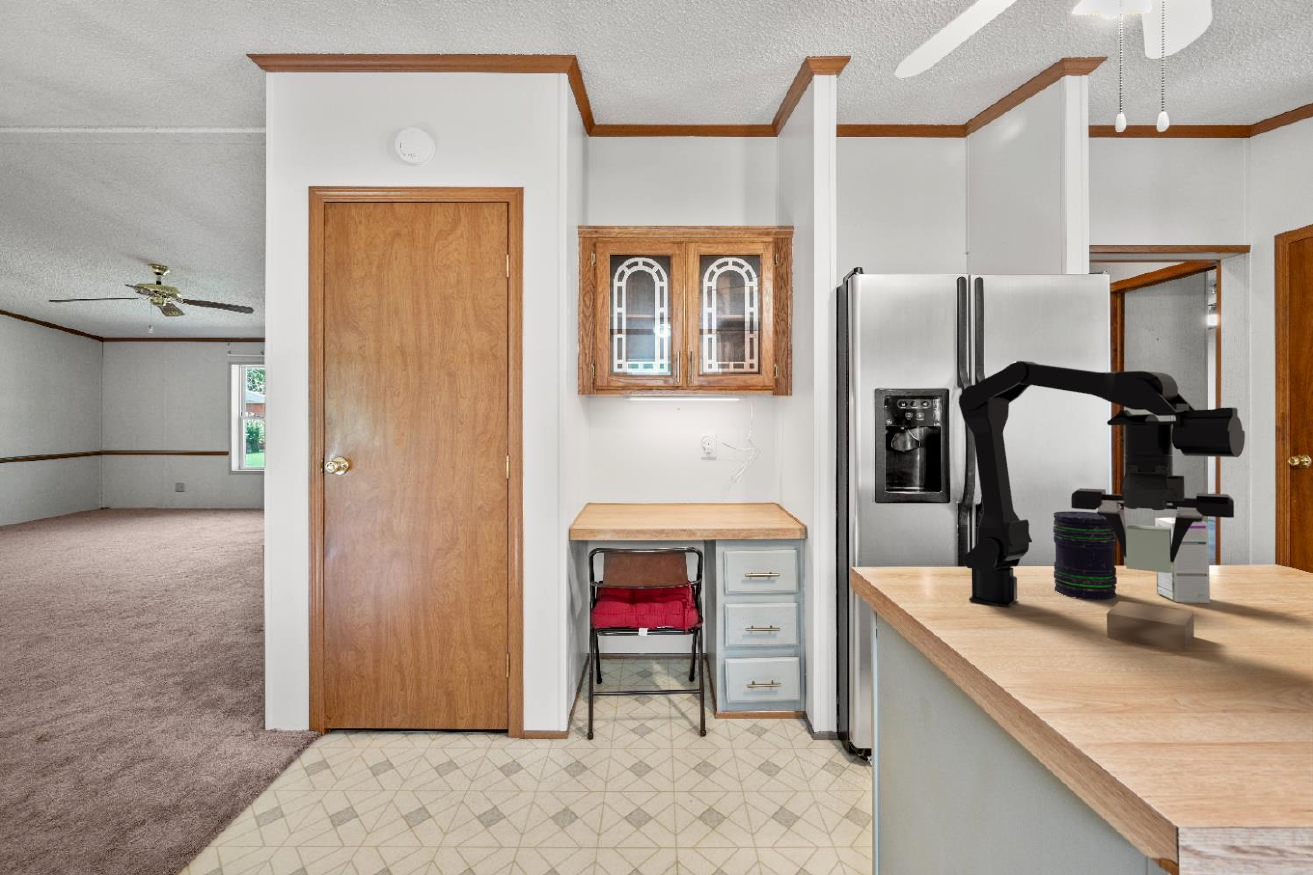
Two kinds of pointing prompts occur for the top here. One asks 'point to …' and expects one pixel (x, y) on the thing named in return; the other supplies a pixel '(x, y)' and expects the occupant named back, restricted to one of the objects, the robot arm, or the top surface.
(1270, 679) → the top surface
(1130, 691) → the top surface
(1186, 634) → the block
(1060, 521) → the storage jar
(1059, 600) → the top surface
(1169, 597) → the syrup box
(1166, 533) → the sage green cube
